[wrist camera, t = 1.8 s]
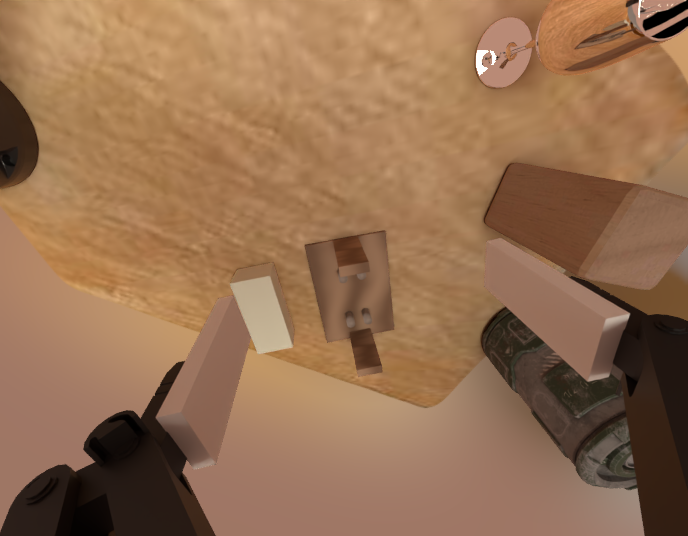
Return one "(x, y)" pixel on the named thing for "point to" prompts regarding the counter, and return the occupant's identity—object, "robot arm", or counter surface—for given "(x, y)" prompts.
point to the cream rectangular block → (263, 307)
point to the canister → (566, 402)
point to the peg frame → (354, 293)
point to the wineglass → (577, 37)
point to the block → (592, 224)
